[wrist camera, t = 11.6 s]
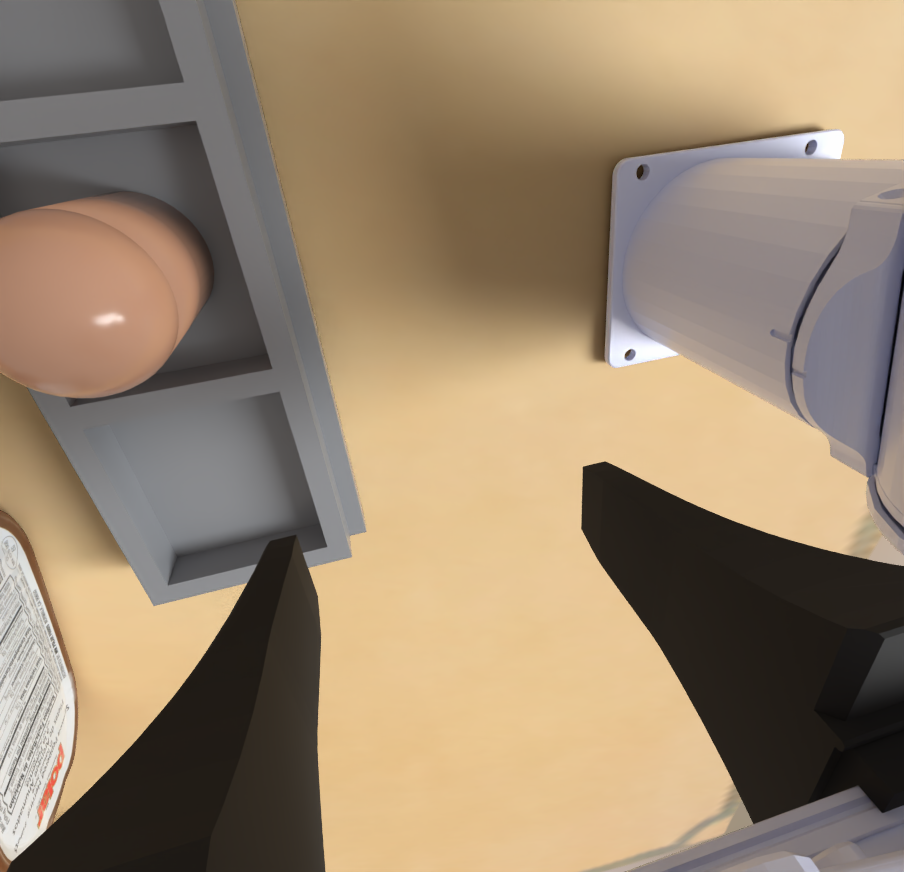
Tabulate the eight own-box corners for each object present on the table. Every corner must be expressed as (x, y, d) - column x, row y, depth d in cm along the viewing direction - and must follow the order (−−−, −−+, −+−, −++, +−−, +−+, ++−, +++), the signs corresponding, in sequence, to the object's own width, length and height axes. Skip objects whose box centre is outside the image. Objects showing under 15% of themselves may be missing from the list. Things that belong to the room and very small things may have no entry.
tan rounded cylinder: (187, 182, 15) (103, 205, 9) (231, 317, 17) (186, 409, 11) (36, 201, 14) (-162, 238, 8) (101, 338, 16) (-22, 447, 10)
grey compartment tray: (150, -340, 11) (107, -472, 9) (363, 515, 23) (369, 556, 21) (-343, -348, 10) (-550, -506, 7) (155, 564, 22) (136, 614, 20)
